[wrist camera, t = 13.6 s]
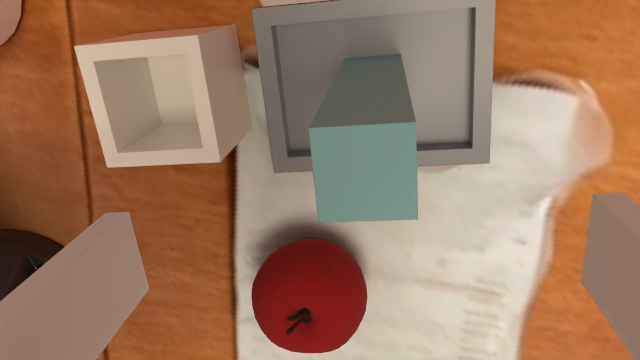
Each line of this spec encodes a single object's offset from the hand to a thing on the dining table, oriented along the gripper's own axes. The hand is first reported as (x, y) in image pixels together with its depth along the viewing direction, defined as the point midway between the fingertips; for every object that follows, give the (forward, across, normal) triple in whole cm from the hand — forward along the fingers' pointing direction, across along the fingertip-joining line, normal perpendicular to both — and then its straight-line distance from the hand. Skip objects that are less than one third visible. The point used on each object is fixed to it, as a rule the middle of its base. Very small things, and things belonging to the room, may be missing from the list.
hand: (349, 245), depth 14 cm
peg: (+23, 0, 0) cm, 23 cm away
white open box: (+24, -13, +1) cm, 28 cm away
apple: (+25, -5, -16) cm, 30 cm away
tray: (+24, +1, 0) cm, 24 cm away
